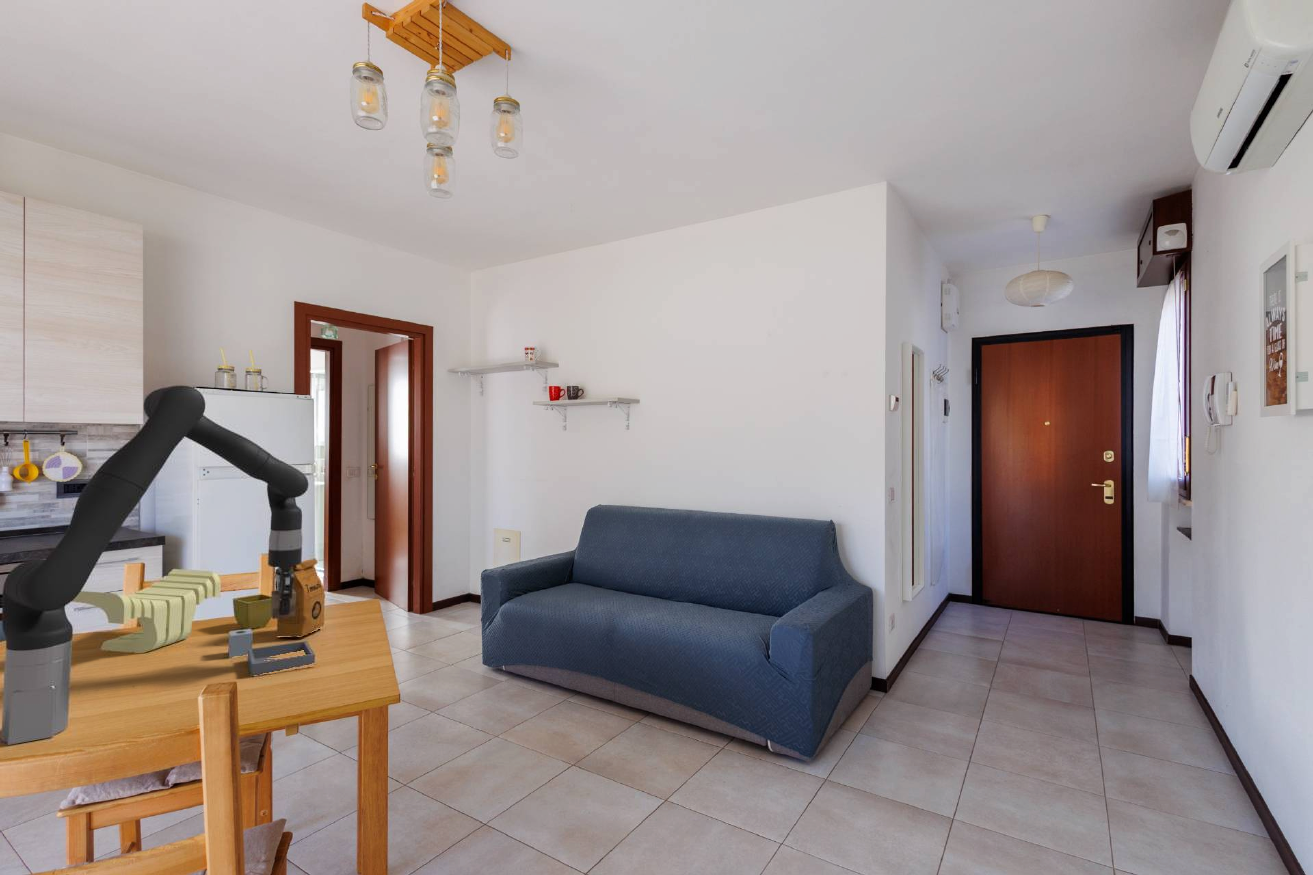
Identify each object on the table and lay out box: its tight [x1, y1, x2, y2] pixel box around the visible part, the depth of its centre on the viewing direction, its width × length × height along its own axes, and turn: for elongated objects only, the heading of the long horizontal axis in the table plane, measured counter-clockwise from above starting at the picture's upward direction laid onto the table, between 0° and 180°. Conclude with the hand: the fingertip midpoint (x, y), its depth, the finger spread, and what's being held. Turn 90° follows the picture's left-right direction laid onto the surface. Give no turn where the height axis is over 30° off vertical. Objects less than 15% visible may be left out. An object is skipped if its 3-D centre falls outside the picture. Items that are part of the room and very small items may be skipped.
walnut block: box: [270, 589, 296, 619], centre depth 163 cm, size 5×5×6 cm
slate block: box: [227, 628, 254, 659], centre depth 169 cm, size 5×5×6 cm
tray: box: [246, 640, 316, 676], centre depth 162 cm, size 14×14×3 cm
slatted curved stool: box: [70, 568, 222, 654], centre depth 174 cm, size 30×16×18 cm, turn 173°
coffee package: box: [276, 558, 326, 638], centre depth 188 cm, size 10×12×22 cm
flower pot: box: [232, 593, 272, 629], centre depth 193 cm, size 9×9×9 cm
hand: (282, 611), depth 162 cm, fingers closed on walnut block, 5 cm apart
